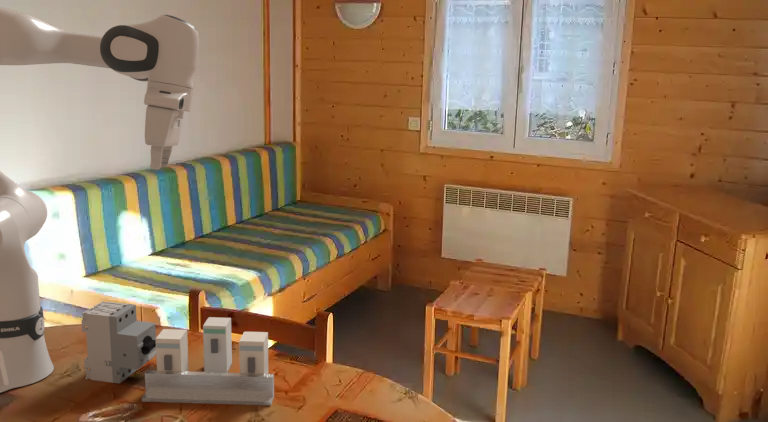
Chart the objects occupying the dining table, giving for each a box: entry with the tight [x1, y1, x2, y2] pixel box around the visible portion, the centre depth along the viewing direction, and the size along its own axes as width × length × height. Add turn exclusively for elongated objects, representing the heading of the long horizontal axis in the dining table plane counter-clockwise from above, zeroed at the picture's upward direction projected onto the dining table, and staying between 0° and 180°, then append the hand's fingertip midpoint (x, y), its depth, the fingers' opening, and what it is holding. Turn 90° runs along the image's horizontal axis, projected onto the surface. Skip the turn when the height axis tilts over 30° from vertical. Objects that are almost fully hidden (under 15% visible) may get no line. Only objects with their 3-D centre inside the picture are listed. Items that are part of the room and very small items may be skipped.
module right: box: [238, 331, 269, 374], centre depth 146 cm, size 5×6×12 cm
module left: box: [155, 328, 190, 371], centre depth 146 cm, size 5×6×12 cm
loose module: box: [202, 316, 233, 373], centre depth 156 cm, size 5×6×11 cm
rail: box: [141, 369, 275, 406], centre depth 143 cm, size 26×4×5 cm, turn 89°
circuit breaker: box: [81, 300, 157, 384], centre depth 151 cm, size 8×14×15 cm, turn 78°
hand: (159, 167), depth 142 cm, fingers open, 8 cm apart
